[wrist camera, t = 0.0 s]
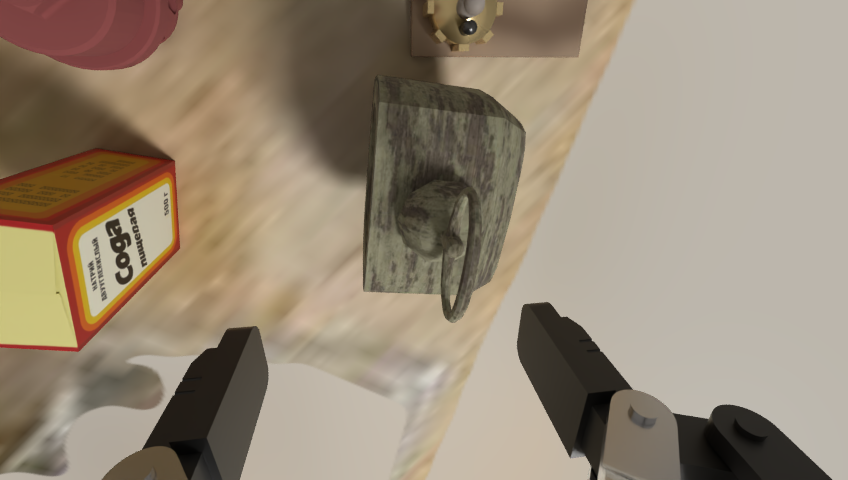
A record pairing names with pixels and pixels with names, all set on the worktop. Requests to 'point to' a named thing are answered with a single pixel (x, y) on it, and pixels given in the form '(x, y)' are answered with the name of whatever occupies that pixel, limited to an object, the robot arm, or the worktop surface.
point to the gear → (460, 23)
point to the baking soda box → (81, 244)
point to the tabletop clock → (438, 189)
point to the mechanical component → (90, 29)
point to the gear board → (510, 29)
